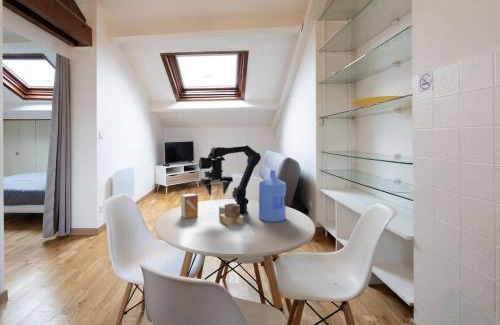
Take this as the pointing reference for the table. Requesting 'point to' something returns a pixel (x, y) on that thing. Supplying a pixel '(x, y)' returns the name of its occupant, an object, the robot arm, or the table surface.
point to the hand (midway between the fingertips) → (217, 194)
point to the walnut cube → (232, 210)
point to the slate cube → (221, 210)
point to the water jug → (272, 199)
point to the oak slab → (231, 220)
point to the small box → (189, 205)
